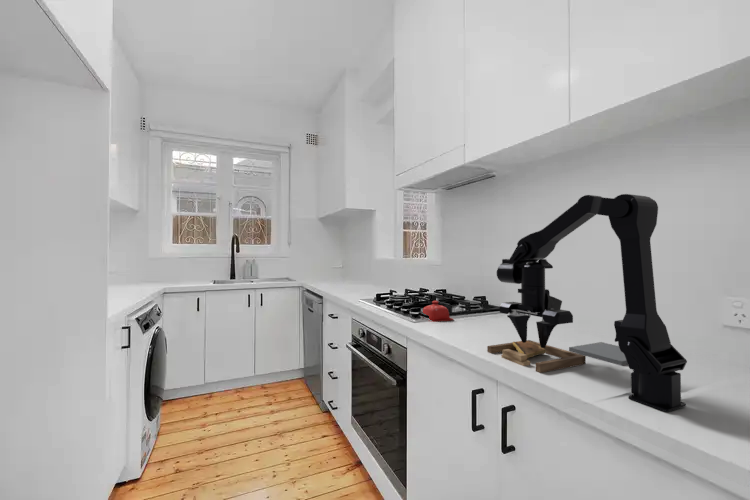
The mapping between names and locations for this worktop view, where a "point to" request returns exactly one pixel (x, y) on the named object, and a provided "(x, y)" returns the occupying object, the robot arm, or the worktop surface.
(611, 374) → the worktop surface
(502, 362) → the worktop surface
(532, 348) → the shard
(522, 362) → the lower oak offcut
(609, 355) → the charcoal mat
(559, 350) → the walnut open-sided frame
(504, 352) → the upper oak offcut
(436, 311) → the butter dish
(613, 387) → the worktop surface
